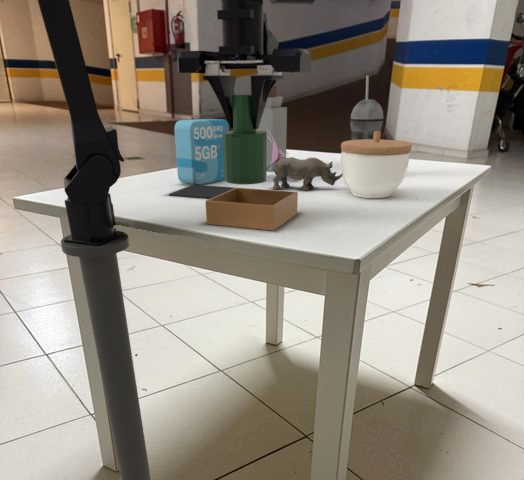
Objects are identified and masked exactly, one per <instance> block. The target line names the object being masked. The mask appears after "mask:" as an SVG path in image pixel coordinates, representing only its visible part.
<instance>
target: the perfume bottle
mask: <svg viewBox="0 0 524 480" xmlns="http://www.w3.org/2000/svg"><path fill="white" fill-rule="evenodd" d="M277 90H278V86H277V85H274V86H273V88H272V90H271V92H270V94H269V96H268V99H267V102H266V105H265V108H264V112H263V115H262V118H261V121H260V125H259V128H258V129H256V131H265V132H266V168H267V167H268V166H269V165H270V163H271V162H272V154H273V145H272V143H273V144H274V142H273V139H274V140H275V142H276V145H277V149H279V150H281V151H282V153H284V152H285V151H286V152H285V153H284V154H286V153H287V130H288V129H287V128H288V126H287V125H288V107H287V106H285V107H284V106H282V103H283V100H284V96H277V93H278V91H277ZM266 128H267V129H266ZM268 131H269V132H270V133H269V132H268ZM270 134H271V135H270ZM271 136H272V137H273V139H272V137H271ZM268 137H269V138H270V139H271V141H272V143H271V141H270V139H269V138H268ZM284 154H283V155H284ZM286 155H287V154H286ZM286 155H284V157H285V158H287V156H286ZM275 170H276V164H272V165H271V166H270V167H269V168H268V169H267V171H266V172H275Z"/></svg>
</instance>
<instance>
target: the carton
mask: <svg viewBox="0 0 524 480" xmlns="http://www.w3.org/2000/svg"><path fill="white" fill-rule="evenodd" d="M298 196H299V192H298V191H289V190H277V189H262V188H245V187H233V189H231V190H229V191H227V192H224V193H222V194H220V195H218V196H215V197H213V198H211V199H206V200H205V215H206V224H207V225H214V226H223V227H232V228H233V227H234V228H242V229H253V230H261V231H263V230H264V231H271V232H272V231H273V232H274V231H277V229H278V228H280V227H281V226H282V225H284V224H285V223H287V222H288V221H290V220H291V219H292V218H293V217H295V216H297V215H298Z"/></svg>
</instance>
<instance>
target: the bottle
mask: <svg viewBox="0 0 524 480" xmlns="http://www.w3.org/2000/svg"><path fill="white" fill-rule="evenodd" d="M232 110H233V128H232V130H229V131H226V132H223V157H224V178H225V180H224V182H225V183H228V184H231V185H232V184H233V185H257V184H262V183H265V182H267V174H268V173H267V171H266V132H265V131H256V129H254V128H253V122H252V102H251V94H235V95H232Z"/></svg>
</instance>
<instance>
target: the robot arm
mask: <svg viewBox="0 0 524 480" xmlns="http://www.w3.org/2000/svg"><path fill="white" fill-rule="evenodd" d="M36 1H37V5H38V9H39V11H40V14H41V18H42V23H43V25H44V28H45V32H46V36H47V40H48V43H49V46H50V50H51V54H52V57H53V61H54V64H55V68H56V70H57V75H58V78H59V81H60V85H61V88H62V89H61V90H62V92H63V95H64V99H65V102H66V106H67V110H68V113H69V119H70V128H71V137H72V147H73V155H74V162H75V164H74V165H73V167H72V168H71V169H70V171H68V173H67V174H66V175H65V176H64V178H63V187H64V189H63V190H64V192H65V194H66V196H67V198H66V199H64V205H65V210H66V215H67V221H68V226H69V232H70V235H71V236H69V235H68V236H69V237H67V238H64V237H63V238H64V242H67V243H75V244H83V245H91V246H102V245H104V244H106V243H108V242H111V241H113V240H115V239H117V238H120V237H122V236H124V235H125V234H124V233H125V231H121V230H117V228H116V224H117V223H116V217H115V210H114V204H113V202H112V197H111V193H109V192H110V189H111V187H112V186H113V185H115V184H116V183H117V182H118V180H119V178H120V176H121V173H122V170H121V169H122V168H121V162H122V163H123V162H125V159H124V157H123V156H122V154H121V151H120V148H119V140H118V131H117V129H116V128H115V127H113V126H112V125H110V126H107V127H105V125H104V123H103V121H102V119H101V116H100V115H99V112H98V107H97V104H96V100H95V96H94V93H93V88H92V84H91V80H90V77H89V73H88V69H87V65H86V62H85V57H84V53H83V50H82V45H81V42H80V38H79V34H78V29H77V26H76V22H75V19H74V14H73V11H72V7H71V6H72V5H71V2H70V0H36ZM269 2H270V4H272V5H283V6H284V5H285V6H305V7H309V6H312V5H314V3H315V2H316V0H269ZM216 13H217V20H219V21H221V35H222V37H221V39H222V45H218V54H217V51H210V50H180V52H179V55H178V57H177V60H176V66H177V74H204V75H202V80H203V81H207V82H208V83H209V85H210V87H211V89H212V91H213V93H214V94H215V97H216V99H217V100H218V102H219V104H220V106H221V109H222V112H223V114H224V116H225V118H226V121H227V123H228V125H229V129H233V110H232V95H236V93H235V88H236V87H235V86H236V82H237V78H238V77H237V75H231V70H256V72H257V75H250V95H251V102H252V122H253V128H254V129H258V128H259V125H260V121H261V118H262V115H263V112H264V108H265V105H266V102H267V99H268V96H269V94H270V92H271V90H272V88H273V86H276V83H277V82H278V81H280V80H282V81H283V80H284V77H285V76H284V75H283V73H290V74H291V73H312V55H311V52H310V51H309V50H308V49H305V48H298V47H291V48H290V47H289V48H285V47H283V48H279V41H278V39H277V37H276V36H275V35H274V34H273V32H272V31H271V30H269V26H268V17H267V12H264V0H220V9H217V10H216ZM236 57H238V60H232V59H236ZM120 231H121V232H120Z"/></svg>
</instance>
